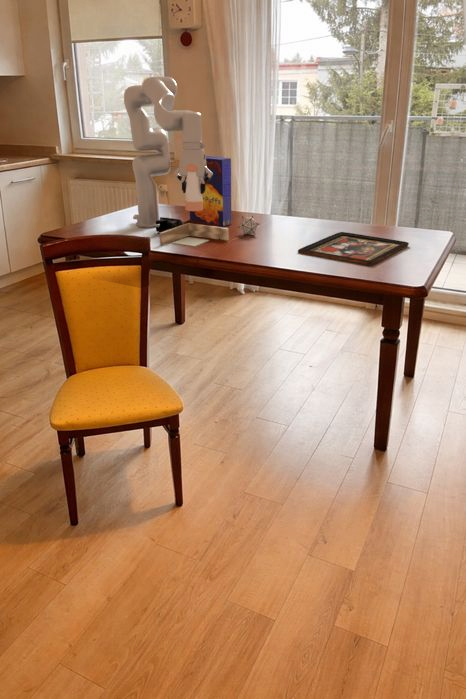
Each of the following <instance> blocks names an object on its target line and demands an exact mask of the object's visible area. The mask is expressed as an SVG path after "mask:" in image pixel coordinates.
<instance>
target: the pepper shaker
mask: <svg viewBox="0 0 466 699" xmlns="http://www.w3.org/2000/svg"><path fill="white" fill-rule="evenodd" d="M185 170H186V171H188V176H187V178H186V182H187V184H186V193H185V200H184V206H185V207H184V208H185V210H184V211H188V212H190V211H200V210H203V200H202V194H201V182H200V178H199V177H197V176H196V172H197V171H198V167H197V166H196V165H193V164H189V165H187V166H186V167H185Z"/></svg>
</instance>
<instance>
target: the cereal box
mask: <svg viewBox="0 0 466 699" xmlns="http://www.w3.org/2000/svg"><path fill="white" fill-rule="evenodd" d="M206 164H207V168H208V169H209V170H210V171H211V172H212V173H213V175H212V176H211V177H210V178H209V180H208V181H207V182H206V183H205V192H204V193H203V194H202V200H203V210H200V211H189V221H193V222H198V221H199V223H203V222H204V223H203V224H208V223H209V224H208V225H212V226H217V227H226V226H230V225H232V221H233V220H232V217H233V216H232V159H231V157H229V158H228V157H221V156H219V157H218V156H211V155H206ZM207 176H208V173H207V174H206V175H204V177H205V178H206V177H207ZM200 182H201V180H200Z"/></svg>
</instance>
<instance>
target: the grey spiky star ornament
mask: <svg viewBox="0 0 466 699" xmlns="http://www.w3.org/2000/svg"><path fill="white" fill-rule="evenodd" d="M241 218H242V219H241V222H240V225H239V226H238V227H237V228H238V229H240V230H241V231H242V233H244V234H243V236H246V235H251V234H254V236H255V235H257V234H256V230H257V227H258V225H260V223H258V222H257V221H256V220H255V218H254V215H251V216H250V217H249V216H248V217H244V216H241Z"/></svg>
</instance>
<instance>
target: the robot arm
mask: <svg viewBox="0 0 466 699" xmlns="http://www.w3.org/2000/svg"><path fill="white" fill-rule="evenodd" d="M177 94H178V84H177V83H176V80H174V78H173V77H171V76H149V77H147V78H146V79H144V80H143V82H142V84H141V85H140V84H136V85H131V86H128V87H127V88H126V89H125V90H124V94H123V104H124V108H125V110H126V113H127V116H128V119H129V124H130V125H129V126H130V131H131V141H132V144H133V148H134V150H135V151H137V152H154V151H155V152H156V153H148V154H140V155H137V156H135V157H134V158H133V159H132V165H131V166H132V170H133V174H134V177H135V179H134V180H135V188H136V198H137V200H136V201H137V212H138V214H136V213H135V214H134V215H133V217H132V219H133V220H136V222H135V226H136V227H137V228H143V229H144V228H145V229H147V228H148V229H149V228H150V229H152V228H156V227H159V226H160V224H157V225H156V221H157V220H160V211H159V210H160V209H159V208H160V207H159V193H158V192H159V191H158V185H157V183H156V181H155V180H154V178H153V177H155V176H156V177H157V176H164V175H168V174H170V171H171V165H172V164H171V155H170V145H169V138H168V135H167V132H182V149H181V151H180V158H179V166H178V168H176V169H175V170H174V172H173V174H174V176H176V177H177V179H178V180H179V181H180V183H181V190H182V194H186V184H187V176H188V171H186V170H185V167H186V166H187V165H189V164H193V165H196V166H197V167H198V171H197V172H196V176H197V177H199V178H200V180H201V194H203V193H204V192H205V183H206V182H207V181H208V180H209V178H210V177H211V176H212V175H213V173H212V172H211V171H210V170H209V169H208V168H207V164H206V156H207V155H206V152H205V149H204V148H206V147H207V144H206V143H204V142H203V126H202V125H203V119H202V114H201V113H200V112H197V111H193V110H189V109H186V110H184V109H183V110H173V108H174V107H175V103H176V98H175V97H176V96H177ZM143 107H153V115H154V119H155V121H156V123H157V124H158V125H159V127H154V128H153V127H151V125H150V124H151V123H150V118H149V115H148V114H147V112H146V111H145V110H144V109H143ZM165 131H166V132H165ZM207 173H208V176H207V177H206V178H205V177H204V175H206V174H207Z"/></svg>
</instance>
